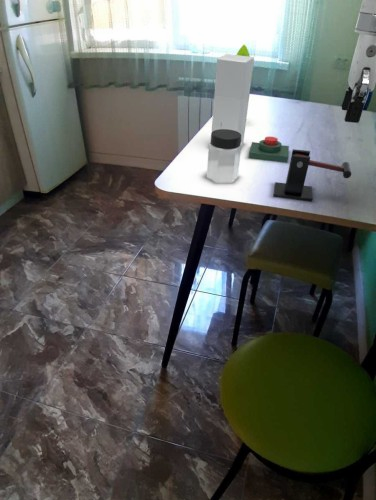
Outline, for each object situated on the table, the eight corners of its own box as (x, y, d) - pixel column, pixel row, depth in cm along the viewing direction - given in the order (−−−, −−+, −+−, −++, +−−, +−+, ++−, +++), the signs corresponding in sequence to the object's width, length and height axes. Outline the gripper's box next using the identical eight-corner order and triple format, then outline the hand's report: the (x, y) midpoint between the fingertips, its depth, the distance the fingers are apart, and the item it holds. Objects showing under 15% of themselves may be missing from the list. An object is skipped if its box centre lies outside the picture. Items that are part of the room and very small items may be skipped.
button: (276, 143, 130) (278, 137, 129) (276, 147, 127) (277, 141, 126) (264, 141, 131) (265, 135, 130) (263, 145, 128) (264, 140, 127)
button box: (287, 152, 135) (290, 140, 132) (286, 164, 127) (289, 150, 125) (251, 148, 136) (252, 136, 133) (248, 159, 129) (250, 146, 126)
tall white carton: (209, 149, 134) (216, 58, 117) (218, 141, 140) (226, 53, 123) (235, 153, 132) (246, 62, 115) (243, 145, 138) (254, 57, 121)
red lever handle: (347, 171, 107) (350, 161, 106) (349, 180, 103) (353, 170, 101) (293, 160, 108) (295, 150, 106) (292, 168, 104) (295, 158, 102)
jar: (243, 181, 116) (249, 136, 108) (220, 187, 113) (225, 141, 105) (223, 170, 122) (227, 126, 113) (201, 175, 118) (204, 131, 110)
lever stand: (310, 190, 114) (320, 150, 106) (311, 203, 108) (322, 161, 100) (274, 186, 115) (282, 146, 107) (273, 198, 109) (281, 156, 102)
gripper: (401, 31, 77) (370, 128, 89) (388, 21, 90) (362, 107, 102) (360, 28, 78) (335, 125, 90) (353, 18, 91) (331, 104, 103)
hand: (349, 115), depth 96 cm, fingers open, 9 cm apart
